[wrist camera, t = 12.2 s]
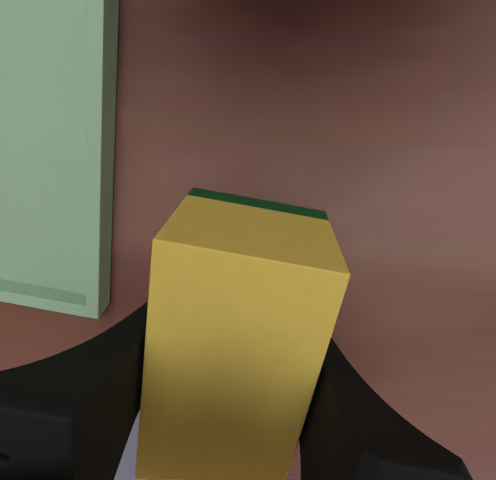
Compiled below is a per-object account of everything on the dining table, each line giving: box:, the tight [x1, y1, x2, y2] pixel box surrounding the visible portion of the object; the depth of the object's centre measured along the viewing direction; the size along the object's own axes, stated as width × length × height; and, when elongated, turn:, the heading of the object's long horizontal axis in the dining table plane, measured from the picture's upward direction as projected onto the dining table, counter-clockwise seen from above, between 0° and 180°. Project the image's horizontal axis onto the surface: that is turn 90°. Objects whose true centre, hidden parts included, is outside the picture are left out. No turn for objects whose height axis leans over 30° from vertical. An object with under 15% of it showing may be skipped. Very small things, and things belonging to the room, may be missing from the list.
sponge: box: [135, 188, 350, 480], centre depth 13 cm, size 9×5×5 cm, turn 170°
